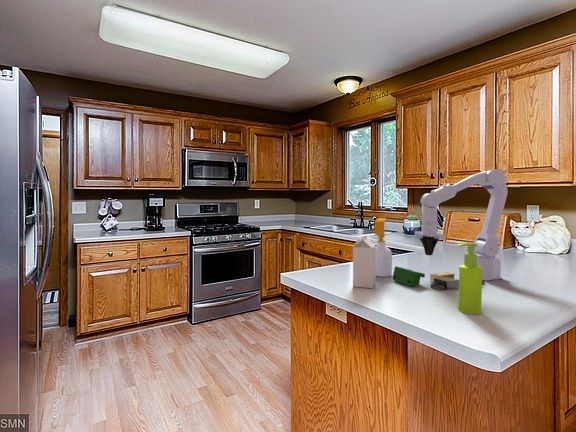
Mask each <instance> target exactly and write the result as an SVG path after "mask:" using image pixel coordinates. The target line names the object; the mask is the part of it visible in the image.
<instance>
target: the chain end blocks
mask: <svg viewBox="0 0 576 432" xmlns="http://www.w3.org/2000/svg"><path fill="white" fill-rule="evenodd" d="M485 281H486V280H482V285H485V283H486V282H485ZM430 288H431V289H434V290H437V291H444V290H445V291H446V290H447V291H448V290H455V289H459V279H455V278H454V280H443V279H439V278H434V282H433V283H430Z"/></svg>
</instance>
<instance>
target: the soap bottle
mask: <svg viewBox="0 0 576 432" xmlns="http://www.w3.org/2000/svg"><path fill="white" fill-rule="evenodd" d="M386 221H387V218H386V217H377V218H376V219H375V221H374V236H377V238H378V240H376V245H375V246H376V266H375V277H377V276H378V278H389V277H391V276H393V252H392V250H391V249H390V248H389V247H387V246H386V240H384V238H385V236H386V235H388V234H387V233H385V223H386ZM388 276H389V277H388Z"/></svg>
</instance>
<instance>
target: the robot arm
mask: <svg viewBox="0 0 576 432" xmlns="http://www.w3.org/2000/svg"><path fill="white" fill-rule="evenodd" d="M506 179H507V176H506V175H505V174H504V172H503V171H502V170H501V169H497V168H495V169H489V170H482V171H481V172H477V173H474V174H472V175H469V176H468V177H465V178H464V179H462V180H460V181H459V182H457V183H454V184H451V183H447V184H446V183H444V184H442V185H441V187H438V188H437V189H432V190H431V191H430V193H429V192H428V193H424V194H423V195H422V196H421V198H420V201H419V203H420V204H421V206H422V210H421V211H422V212H421V217H422V218H421V222H422V223H421V231H420V230H419V231H414V236H415V237H420V238H419V240H420V242H421V243H422V244H421V245H422V246H423V250H424V254H425V256H433V254H434V251H435V249H436V245H437V244H438V243H439V241H440V240H446V234H443V233H439V232H438V206H439V205H440V204H441V203H443V202H446V201H448V200H450V199H452V198H454V197H456V195H457V193H458V192H460V191H462V190H465V189H466V188H470V187H471V186H474V185H479V186H481V187H483V188H484V189H486V190H487V192H488V193H489V194H490V198H489V201H488V206H487V209H486V212H485V213H486V214H485V218H484V221H483V224H482V228H481V231H480V232H479V233H478V235H476V239H475V240H474V242H472V243H475V244H478V246H474V253H475V254H476V255H477V256H478V258H477V266H480V267H482V280H485V281H492V280H499V279H503V277H502V276H501V269H502V268H501V266H502V263H501V260H500V258H499V257H498V256H497V255H498V254H499V251H500V247H499V241H500V239H499V238H498V236H497V235H498V231H499V226H500V222H501V220H502V219H501V218H502V216H503V211H504V208H505V204H506V201H507V197H508V194H509V193H508V192H509V191H508V187H507V182H506Z"/></svg>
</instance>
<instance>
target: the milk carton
mask: <svg viewBox="0 0 576 432" xmlns="http://www.w3.org/2000/svg"><path fill="white" fill-rule="evenodd" d="M367 236H368V235H367V234H365V235H364V236H362V237H361V238H362V239H361V238H358V239H357V240H355V243H356V244H355V245H354V246H353V247H352V287H353V288H354V287H357V288H363V289H365V288H366V289H373V288H374V287H375V286H376V276H375V266H376V246H377V245H375V244H374V243H373V242H372V241H371V240H370V239H369V238H368V237H367Z"/></svg>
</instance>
